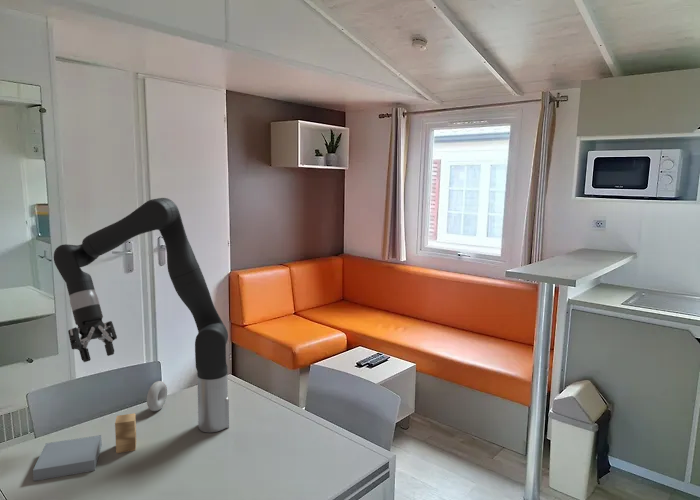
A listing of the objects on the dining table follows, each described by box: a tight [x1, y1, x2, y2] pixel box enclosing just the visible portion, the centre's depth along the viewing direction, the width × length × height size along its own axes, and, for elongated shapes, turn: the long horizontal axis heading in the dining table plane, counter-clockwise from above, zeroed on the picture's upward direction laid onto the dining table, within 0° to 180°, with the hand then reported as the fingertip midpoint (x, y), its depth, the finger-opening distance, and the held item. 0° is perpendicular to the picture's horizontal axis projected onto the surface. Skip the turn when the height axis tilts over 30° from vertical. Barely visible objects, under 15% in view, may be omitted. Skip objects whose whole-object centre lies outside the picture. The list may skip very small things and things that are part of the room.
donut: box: [146, 380, 168, 412], centre depth 162 cm, size 10×4×10 cm, turn 173°
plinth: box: [32, 434, 103, 482], centre depth 130 cm, size 14×14×3 cm
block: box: [114, 413, 137, 454], centre depth 137 cm, size 5×5×9 cm
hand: (99, 358), depth 143 cm, fingers open, 8 cm apart
